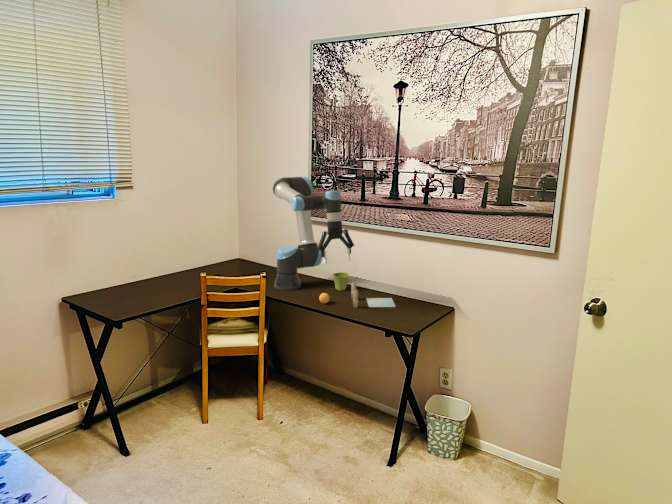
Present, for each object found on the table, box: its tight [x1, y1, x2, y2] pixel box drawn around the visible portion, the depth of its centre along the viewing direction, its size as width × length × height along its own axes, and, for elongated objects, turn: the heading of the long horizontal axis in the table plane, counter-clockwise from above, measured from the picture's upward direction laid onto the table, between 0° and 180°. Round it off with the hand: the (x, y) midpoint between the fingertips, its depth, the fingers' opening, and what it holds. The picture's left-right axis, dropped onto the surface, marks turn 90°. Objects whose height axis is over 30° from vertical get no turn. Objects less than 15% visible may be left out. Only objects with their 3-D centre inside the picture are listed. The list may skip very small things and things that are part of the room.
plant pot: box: [332, 272, 350, 291], centre depth 286 cm, size 9×9×9 cm
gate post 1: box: [350, 282, 357, 301], centre depth 269 cm, size 3×3×9 cm
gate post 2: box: [352, 289, 359, 309], centre depth 256 cm, size 3×3×9 cm
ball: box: [318, 292, 330, 304], centre depth 262 cm, size 6×6×6 cm
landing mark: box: [365, 297, 396, 308], centre depth 264 cm, size 14×14×1 cm
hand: (336, 261), depth 256 cm, fingers open, 13 cm apart
